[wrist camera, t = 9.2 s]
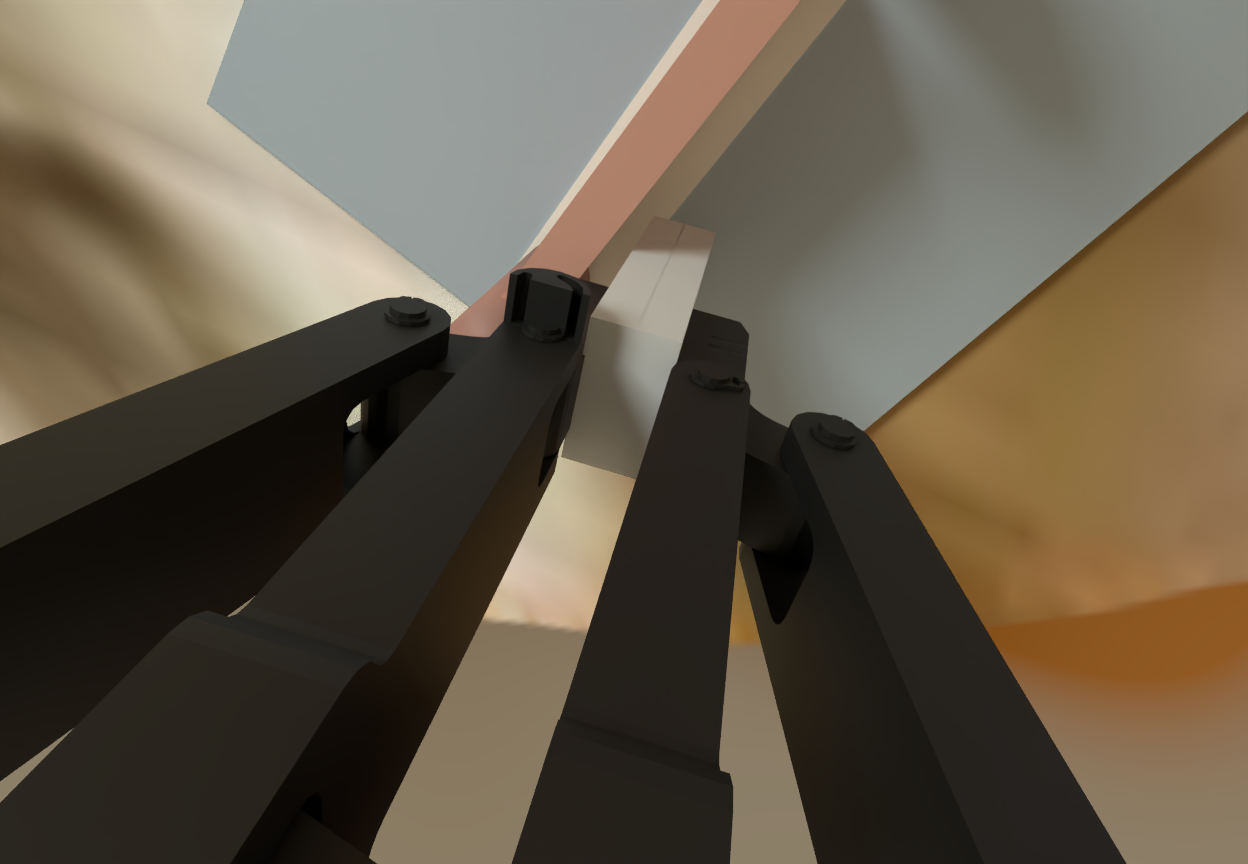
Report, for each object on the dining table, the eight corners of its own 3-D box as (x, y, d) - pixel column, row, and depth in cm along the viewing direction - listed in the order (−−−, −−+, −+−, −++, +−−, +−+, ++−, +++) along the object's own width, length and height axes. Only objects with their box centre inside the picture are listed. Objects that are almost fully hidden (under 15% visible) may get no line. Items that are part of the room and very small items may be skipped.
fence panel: (791, -104, 14) (799, -171, 9) (856, -38, 14) (895, -71, 10) (511, 278, 19) (425, 358, 14) (563, 321, 20) (496, 413, 15)
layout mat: (214, 102, 19) (204, 103, 19) (620, -991, 10) (615, -1026, 10) (750, 519, 22) (750, 526, 22) (1407, -31, 13) (1422, -32, 13)
